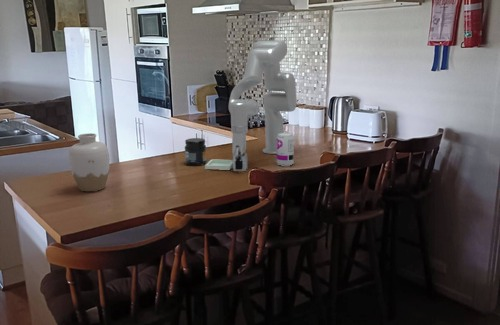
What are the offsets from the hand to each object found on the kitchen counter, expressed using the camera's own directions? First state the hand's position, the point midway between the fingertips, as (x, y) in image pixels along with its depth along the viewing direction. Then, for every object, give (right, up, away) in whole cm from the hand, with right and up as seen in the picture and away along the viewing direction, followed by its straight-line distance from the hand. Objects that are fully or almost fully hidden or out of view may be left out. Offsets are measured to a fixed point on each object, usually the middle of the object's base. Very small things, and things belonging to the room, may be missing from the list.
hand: (240, 167), depth 226 cm
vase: (-61, -9, -24) cm, 66 cm away
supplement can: (+22, +1, +9) cm, 24 cm away
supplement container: (-22, +1, +14) cm, 27 cm away
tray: (-10, 0, +6) cm, 11 cm away
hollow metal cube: (0, -2, 0) cm, 2 cm away
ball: (0, +6, -1) cm, 6 cm away
